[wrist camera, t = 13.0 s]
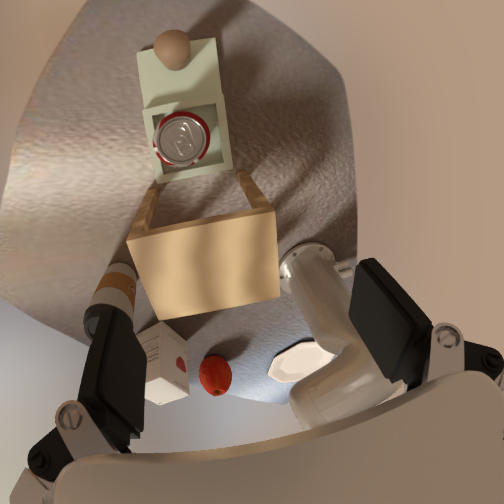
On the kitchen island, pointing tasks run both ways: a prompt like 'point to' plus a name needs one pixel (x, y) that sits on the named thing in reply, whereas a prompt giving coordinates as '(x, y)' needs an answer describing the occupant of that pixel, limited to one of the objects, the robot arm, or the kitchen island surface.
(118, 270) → the coffee cup
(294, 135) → the kitchen island surface
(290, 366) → the plate
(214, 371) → the apple
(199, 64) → the tan cylinder on base
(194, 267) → the wooden stool
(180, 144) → the soda can
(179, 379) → the supplement box
